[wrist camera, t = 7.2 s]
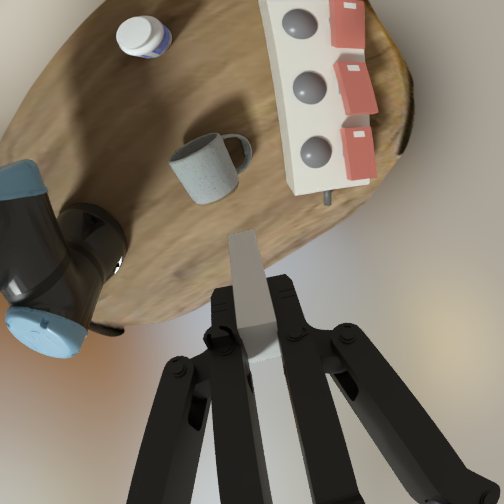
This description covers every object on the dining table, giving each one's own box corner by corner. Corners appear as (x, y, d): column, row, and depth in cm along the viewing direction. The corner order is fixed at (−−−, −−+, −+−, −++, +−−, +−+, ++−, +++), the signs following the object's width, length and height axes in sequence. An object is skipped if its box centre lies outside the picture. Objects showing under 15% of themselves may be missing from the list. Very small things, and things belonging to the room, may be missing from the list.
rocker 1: (331, 45, 25) (336, 47, 24) (328, -3, 19) (334, -3, 18) (358, 47, 25) (365, 49, 24) (357, 0, 19) (364, 1, 18)
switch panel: (289, 204, 44) (299, 223, 39) (257, -3, 24) (264, -16, 19) (354, 193, 44) (370, 209, 39) (338, -2, 24) (356, -11, 19)
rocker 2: (345, 115, 29) (351, 112, 27) (333, 65, 27) (337, 61, 25) (372, 114, 29) (378, 112, 27) (360, 66, 27) (365, 62, 25)
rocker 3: (346, 179, 35) (351, 180, 33) (339, 128, 32) (344, 128, 30) (371, 175, 35) (377, 177, 33) (365, 127, 32) (371, 126, 30)
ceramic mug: (197, 195, 41) (195, 218, 35) (171, 151, 37) (163, 167, 30) (259, 165, 40) (269, 183, 34) (236, 117, 35) (242, 126, 29)
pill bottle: (166, 19, 24) (150, 2, 17) (177, 49, 28) (165, 39, 20) (129, 35, 25) (104, 25, 17) (141, 65, 28) (118, 62, 20)
